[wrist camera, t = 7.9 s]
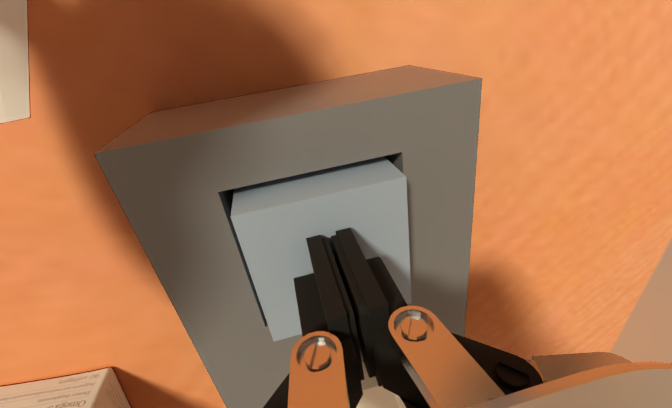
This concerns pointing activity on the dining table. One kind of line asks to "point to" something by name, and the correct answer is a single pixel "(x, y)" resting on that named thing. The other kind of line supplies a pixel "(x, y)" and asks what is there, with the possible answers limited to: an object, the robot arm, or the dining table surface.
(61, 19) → the dining table surface
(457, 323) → the control pad
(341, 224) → the slate blue key
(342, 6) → the dining table surface
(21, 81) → the heart sculpture
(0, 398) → the supplement box
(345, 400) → the robot arm
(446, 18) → the dining table surface
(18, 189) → the dining table surface
